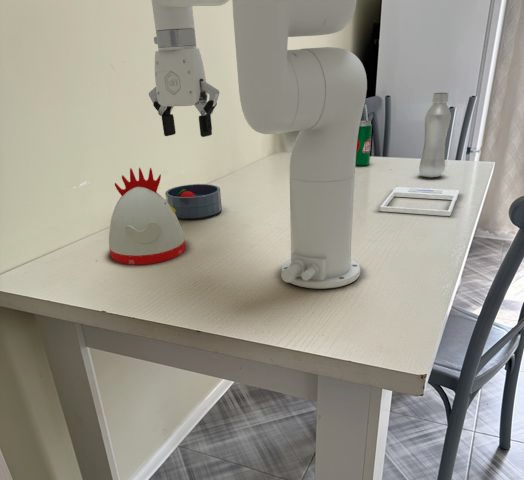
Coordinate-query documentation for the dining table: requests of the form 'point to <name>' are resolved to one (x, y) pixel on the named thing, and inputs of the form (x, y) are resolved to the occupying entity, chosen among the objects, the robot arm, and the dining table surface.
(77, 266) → the dining table surface
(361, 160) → the soda can
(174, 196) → the bowl
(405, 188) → the photo frame
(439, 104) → the plastic bottle
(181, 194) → the red tomato
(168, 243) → the kitchen timer
